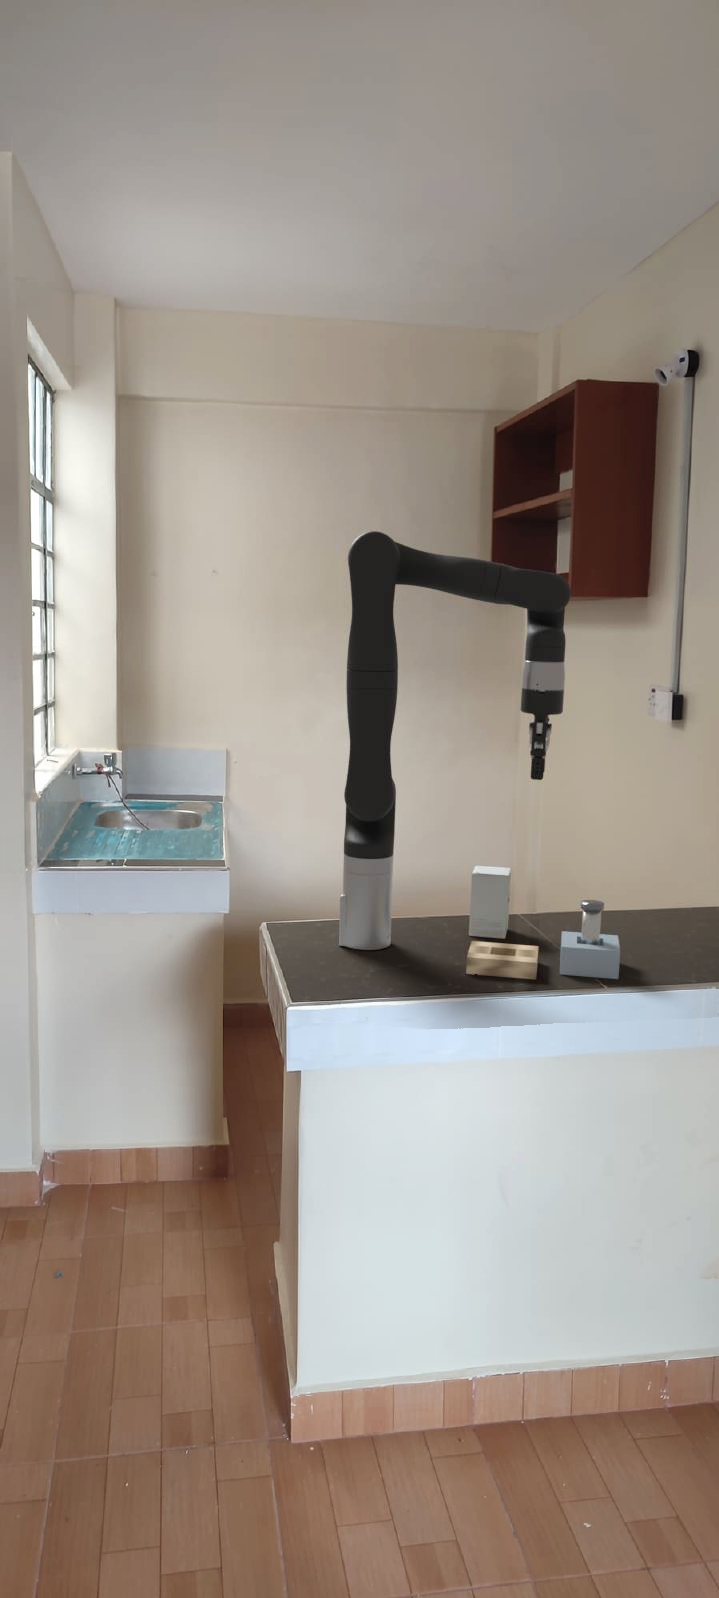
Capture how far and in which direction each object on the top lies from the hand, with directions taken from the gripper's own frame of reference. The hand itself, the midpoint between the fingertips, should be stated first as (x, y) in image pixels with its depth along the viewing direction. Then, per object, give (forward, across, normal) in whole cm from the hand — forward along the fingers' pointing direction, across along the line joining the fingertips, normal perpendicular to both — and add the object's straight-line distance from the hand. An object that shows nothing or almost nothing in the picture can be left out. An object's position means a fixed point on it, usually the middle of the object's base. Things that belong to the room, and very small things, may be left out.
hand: (537, 776), depth 206 cm
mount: (+33, +12, -4) cm, 35 cm away
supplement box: (+33, -10, -8) cm, 36 cm away
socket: (+33, +8, +11) cm, 36 cm away
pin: (+33, +8, +11) cm, 36 cm away
